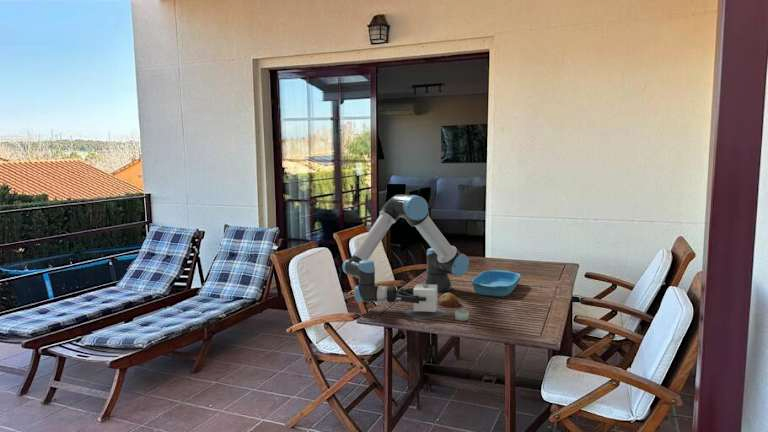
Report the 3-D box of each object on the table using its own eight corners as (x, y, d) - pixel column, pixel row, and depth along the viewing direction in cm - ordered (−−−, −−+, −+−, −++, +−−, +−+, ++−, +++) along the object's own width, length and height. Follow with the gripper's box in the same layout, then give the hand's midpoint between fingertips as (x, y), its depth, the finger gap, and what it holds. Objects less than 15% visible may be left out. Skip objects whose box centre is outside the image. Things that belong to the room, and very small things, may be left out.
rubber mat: (435, 307, 246) (435, 306, 246) (450, 315, 234) (450, 314, 234) (401, 312, 239) (401, 311, 239) (415, 321, 226) (415, 320, 226)
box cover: (416, 304, 242) (416, 281, 241) (437, 305, 240) (437, 282, 239) (413, 310, 232) (413, 286, 231) (435, 311, 230) (435, 287, 229)
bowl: (463, 317, 231) (463, 308, 230) (471, 321, 225) (471, 312, 225) (452, 319, 228) (452, 310, 228) (459, 323, 223) (459, 313, 222)
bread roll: (449, 308, 257) (443, 293, 258) (465, 303, 250) (459, 288, 252) (438, 313, 249) (432, 298, 250) (454, 308, 243) (448, 292, 244)
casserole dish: (509, 300, 258) (509, 286, 257) (466, 296, 268) (466, 282, 267) (523, 284, 291) (523, 271, 290) (485, 280, 300) (485, 268, 300)
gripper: (391, 295, 250) (437, 296, 246) (382, 309, 228) (432, 311, 224) (391, 280, 249) (437, 281, 245) (382, 292, 227) (432, 294, 223)
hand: (434, 295), depth 235 cm, fingers closed on box cover, 10 cm apart
